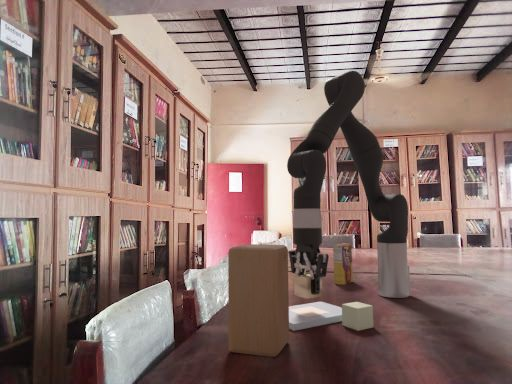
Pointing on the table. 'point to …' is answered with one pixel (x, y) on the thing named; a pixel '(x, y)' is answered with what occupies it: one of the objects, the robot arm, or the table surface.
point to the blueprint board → (313, 315)
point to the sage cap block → (357, 315)
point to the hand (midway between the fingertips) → (308, 291)
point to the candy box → (342, 263)
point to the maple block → (305, 286)
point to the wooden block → (258, 299)
